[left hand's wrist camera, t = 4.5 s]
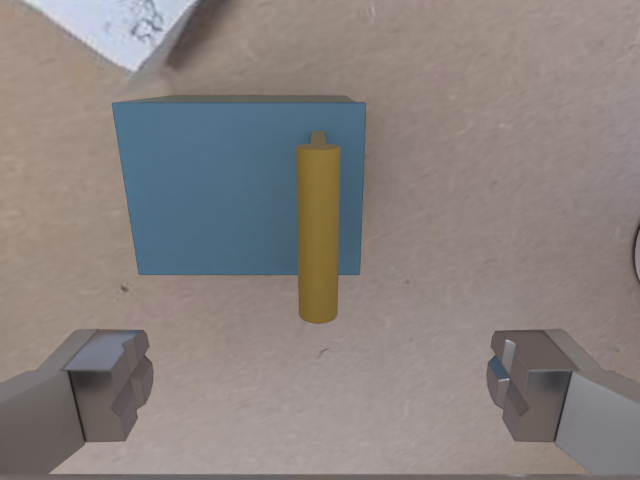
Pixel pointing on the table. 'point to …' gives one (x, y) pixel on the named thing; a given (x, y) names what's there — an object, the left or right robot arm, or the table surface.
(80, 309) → the table surface
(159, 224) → the lid
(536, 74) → the table surface
